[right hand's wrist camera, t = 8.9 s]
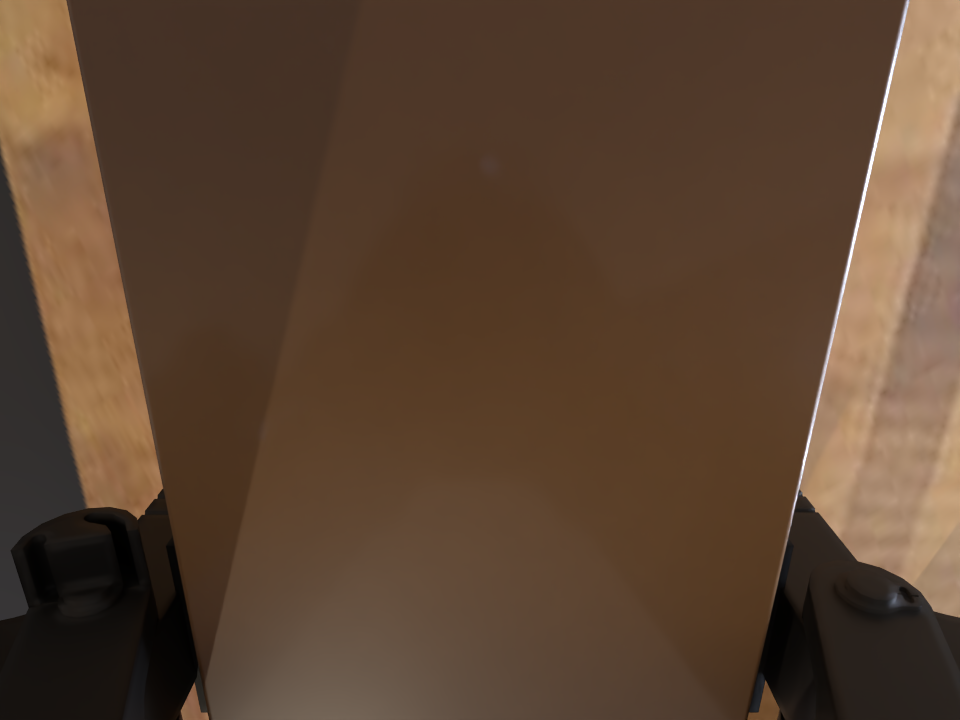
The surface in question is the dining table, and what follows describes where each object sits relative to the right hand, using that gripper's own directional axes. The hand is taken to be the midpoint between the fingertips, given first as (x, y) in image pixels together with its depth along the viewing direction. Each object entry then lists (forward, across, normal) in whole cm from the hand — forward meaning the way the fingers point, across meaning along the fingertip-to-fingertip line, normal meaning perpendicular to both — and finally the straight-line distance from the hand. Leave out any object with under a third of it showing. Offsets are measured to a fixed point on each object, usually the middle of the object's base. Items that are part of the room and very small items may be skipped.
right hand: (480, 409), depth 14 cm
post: (0, 0, -24) cm, 24 cm away
